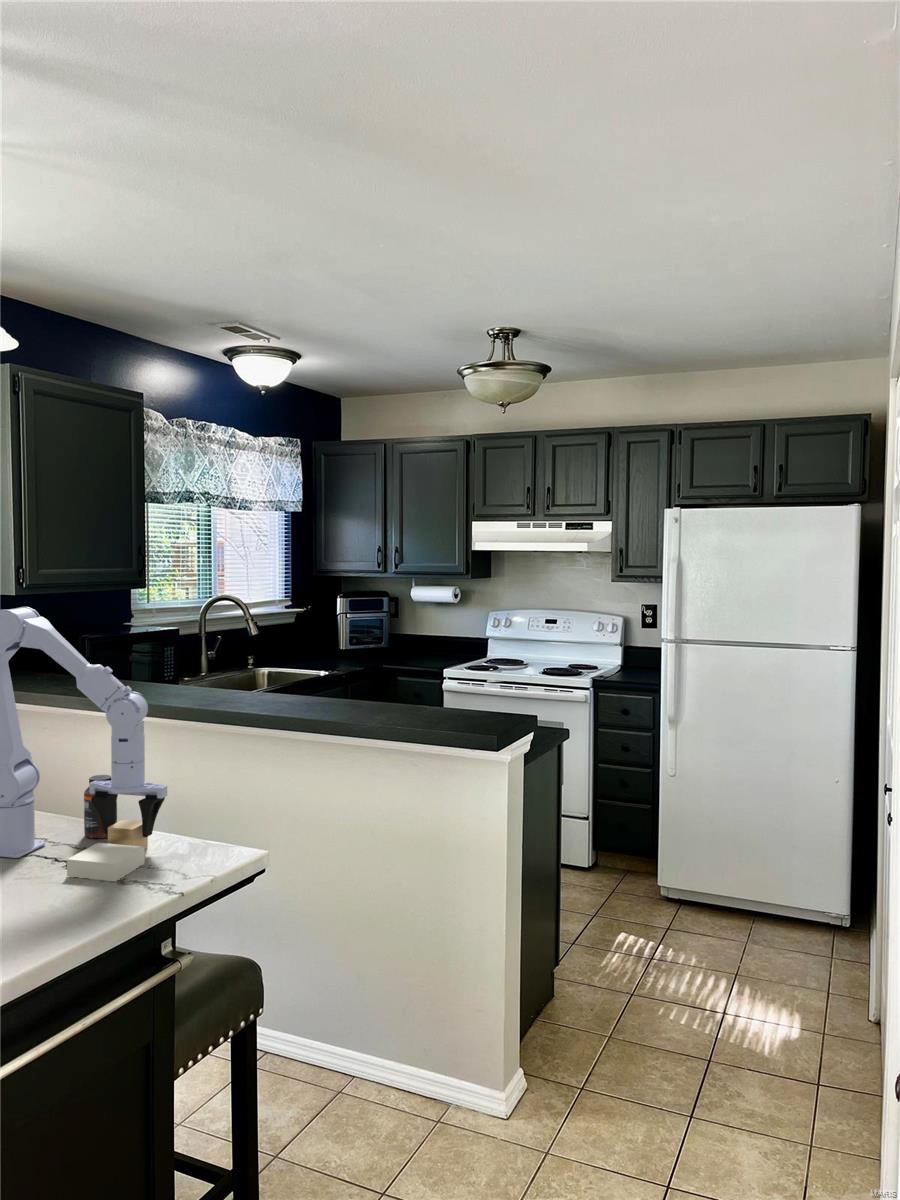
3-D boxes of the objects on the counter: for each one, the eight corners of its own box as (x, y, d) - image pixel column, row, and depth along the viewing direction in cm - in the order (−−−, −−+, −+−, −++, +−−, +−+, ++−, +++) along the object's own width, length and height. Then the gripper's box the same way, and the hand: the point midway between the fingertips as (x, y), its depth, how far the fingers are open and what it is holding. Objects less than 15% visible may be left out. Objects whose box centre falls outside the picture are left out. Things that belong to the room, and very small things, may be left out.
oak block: (107, 854, 163) (107, 827, 163) (123, 845, 168) (123, 819, 167) (133, 856, 162) (133, 829, 162) (147, 848, 167) (147, 821, 166)
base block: (67, 876, 151) (66, 859, 151) (98, 859, 160) (98, 842, 160) (115, 881, 149) (115, 863, 149) (144, 863, 158) (144, 846, 158)
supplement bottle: (122, 830, 176) (122, 773, 176) (108, 840, 170) (108, 781, 170) (93, 829, 177) (93, 772, 176) (78, 839, 171) (77, 780, 170)
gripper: (79, 762, 161) (79, 837, 162) (153, 767, 159) (153, 843, 159) (101, 754, 168) (102, 826, 169) (173, 758, 165) (173, 831, 166)
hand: (128, 834), depth 165 cm, fingers open, 7 cm apart
